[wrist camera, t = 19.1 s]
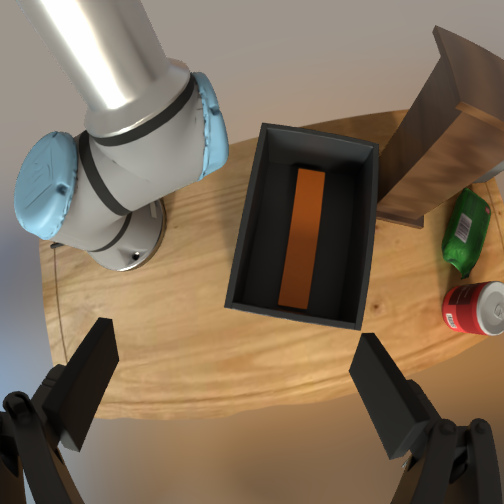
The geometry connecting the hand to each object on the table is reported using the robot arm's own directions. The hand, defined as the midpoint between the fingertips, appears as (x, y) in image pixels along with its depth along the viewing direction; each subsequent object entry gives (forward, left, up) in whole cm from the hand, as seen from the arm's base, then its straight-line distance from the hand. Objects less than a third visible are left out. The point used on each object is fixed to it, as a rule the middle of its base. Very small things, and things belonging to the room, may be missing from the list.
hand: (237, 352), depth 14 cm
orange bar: (+4, +12, -28) cm, 31 cm away
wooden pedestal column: (+18, +23, -29) cm, 41 cm away
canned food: (+33, +6, -29) cm, 44 cm away
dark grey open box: (+4, +13, -29) cm, 32 cm away
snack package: (+32, +19, -29) cm, 47 cm away
